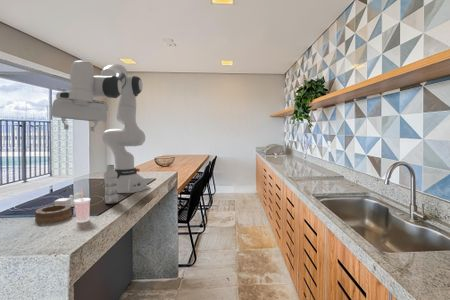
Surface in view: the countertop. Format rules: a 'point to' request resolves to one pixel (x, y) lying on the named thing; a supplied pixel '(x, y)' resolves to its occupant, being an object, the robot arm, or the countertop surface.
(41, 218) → the walnut ring
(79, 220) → the beverage cup
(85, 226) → the countertop surface
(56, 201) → the container set
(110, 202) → the plastic bottle
